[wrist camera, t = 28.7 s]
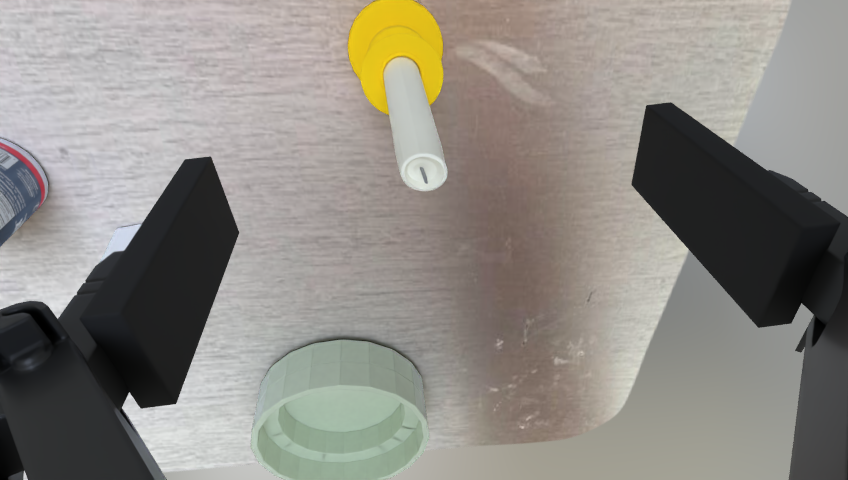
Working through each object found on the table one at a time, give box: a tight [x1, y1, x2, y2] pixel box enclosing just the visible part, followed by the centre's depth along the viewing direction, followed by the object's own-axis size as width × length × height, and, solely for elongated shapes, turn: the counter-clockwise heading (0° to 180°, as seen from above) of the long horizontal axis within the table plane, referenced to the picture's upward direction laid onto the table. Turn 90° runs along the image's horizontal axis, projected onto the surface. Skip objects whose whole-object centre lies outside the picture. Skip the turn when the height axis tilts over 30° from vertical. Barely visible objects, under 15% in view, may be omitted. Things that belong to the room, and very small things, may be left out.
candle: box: [348, 0, 448, 191], centre depth 21 cm, size 5×5×16 cm
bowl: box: [251, 340, 429, 480], centre depth 42 cm, size 14×14×5 cm
